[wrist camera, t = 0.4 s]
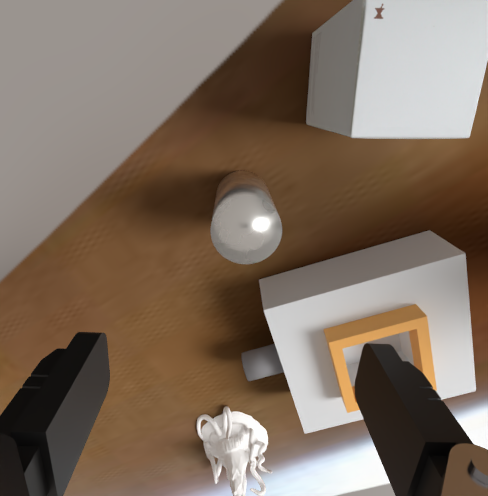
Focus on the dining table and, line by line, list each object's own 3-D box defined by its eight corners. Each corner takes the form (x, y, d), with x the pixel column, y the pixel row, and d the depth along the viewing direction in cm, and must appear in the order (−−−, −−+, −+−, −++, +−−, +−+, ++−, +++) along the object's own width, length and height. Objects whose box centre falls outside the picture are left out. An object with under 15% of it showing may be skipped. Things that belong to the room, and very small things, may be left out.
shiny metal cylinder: (260, 163, 33) (271, 187, 24) (274, 213, 35) (289, 252, 26) (209, 179, 34) (200, 209, 24) (225, 227, 36) (223, 272, 26)
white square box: (429, 230, 36) (480, 263, 29) (443, 352, 42) (489, 406, 35) (222, 290, 38) (220, 335, 31) (264, 399, 44) (270, 459, 37)
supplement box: (303, 125, 32) (345, 139, 20) (311, 30, 29) (364, -18, 18) (385, 127, 32) (472, 141, 21) (400, 32, 30) (510, -13, 18)
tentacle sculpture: (240, 395, 44) (243, 467, 35) (286, 454, 48) (298, 531, 39) (180, 424, 45) (168, 500, 37) (229, 479, 49) (229, 558, 41)
